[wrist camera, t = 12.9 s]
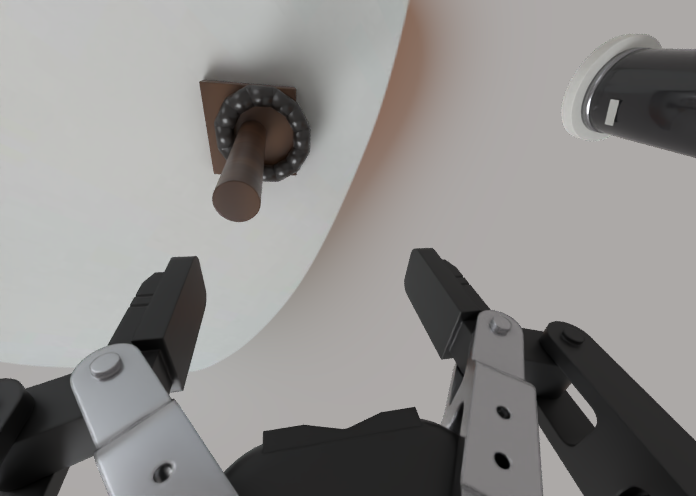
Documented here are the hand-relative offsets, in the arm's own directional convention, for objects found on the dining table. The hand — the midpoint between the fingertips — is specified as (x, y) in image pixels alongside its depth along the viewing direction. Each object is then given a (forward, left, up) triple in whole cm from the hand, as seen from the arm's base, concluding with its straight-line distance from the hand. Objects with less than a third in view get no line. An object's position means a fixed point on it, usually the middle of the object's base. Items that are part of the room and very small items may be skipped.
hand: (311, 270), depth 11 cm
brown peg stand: (+3, 0, -23) cm, 23 cm away
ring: (+2, 0, -20) cm, 20 cm away
